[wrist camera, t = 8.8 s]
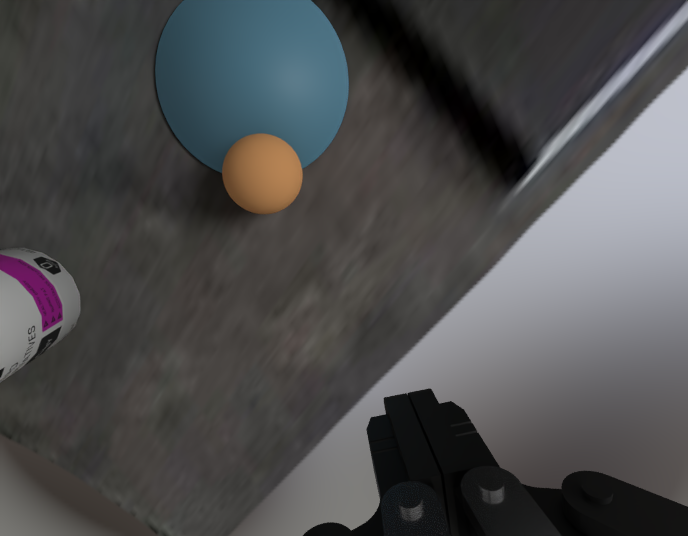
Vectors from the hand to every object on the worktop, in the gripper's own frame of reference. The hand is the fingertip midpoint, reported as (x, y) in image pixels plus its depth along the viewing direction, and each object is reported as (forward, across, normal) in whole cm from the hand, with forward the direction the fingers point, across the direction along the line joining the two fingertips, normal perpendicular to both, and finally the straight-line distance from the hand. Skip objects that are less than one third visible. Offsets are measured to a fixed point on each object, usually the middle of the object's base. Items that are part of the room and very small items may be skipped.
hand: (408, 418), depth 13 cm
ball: (+19, +5, -8) cm, 21 cm away
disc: (+22, +5, -14) cm, 27 cm away
